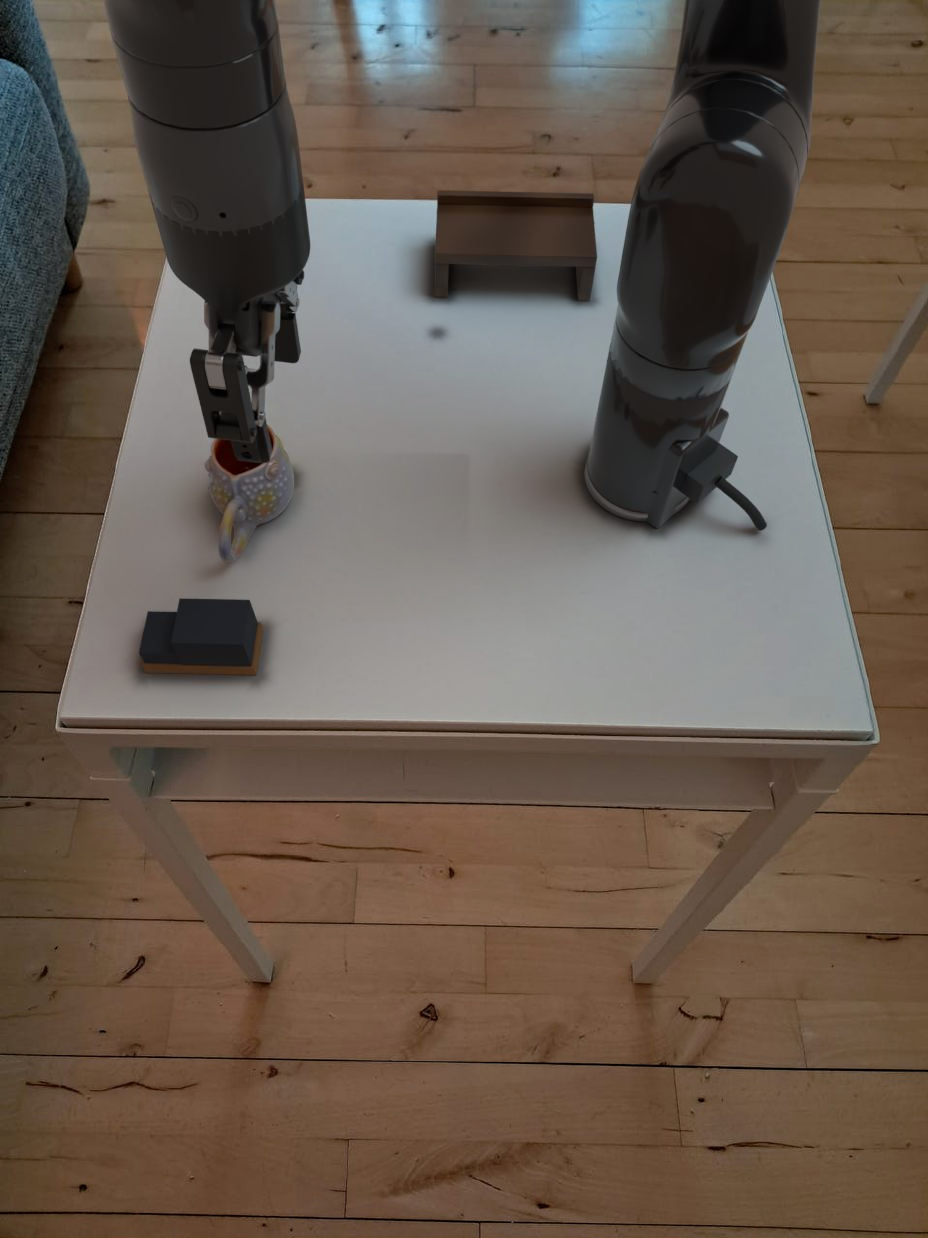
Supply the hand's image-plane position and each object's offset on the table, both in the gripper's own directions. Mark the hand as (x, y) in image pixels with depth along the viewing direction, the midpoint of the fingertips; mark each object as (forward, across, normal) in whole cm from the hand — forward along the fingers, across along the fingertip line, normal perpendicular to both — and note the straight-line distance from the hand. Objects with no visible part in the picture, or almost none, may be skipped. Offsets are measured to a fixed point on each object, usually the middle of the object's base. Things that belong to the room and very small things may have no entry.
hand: (269, 405), depth 60 cm
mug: (+19, +4, +5) cm, 20 cm away
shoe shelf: (+18, +38, -14) cm, 44 cm away
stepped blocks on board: (+19, -9, +6) cm, 21 cm away
